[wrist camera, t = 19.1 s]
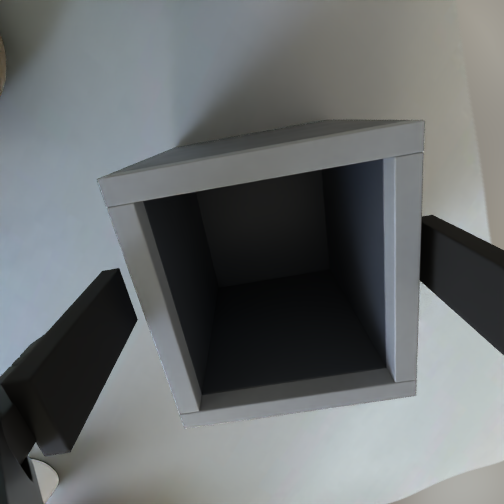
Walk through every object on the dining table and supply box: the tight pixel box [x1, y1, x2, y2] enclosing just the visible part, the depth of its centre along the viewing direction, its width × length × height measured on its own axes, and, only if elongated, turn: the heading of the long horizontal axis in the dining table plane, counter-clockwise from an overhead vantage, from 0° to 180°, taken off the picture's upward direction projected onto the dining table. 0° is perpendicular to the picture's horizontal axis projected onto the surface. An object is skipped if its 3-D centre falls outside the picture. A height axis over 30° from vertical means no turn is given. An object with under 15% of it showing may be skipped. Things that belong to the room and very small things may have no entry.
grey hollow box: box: [97, 120, 425, 429], centre depth 19 cm, size 13×11×12 cm
